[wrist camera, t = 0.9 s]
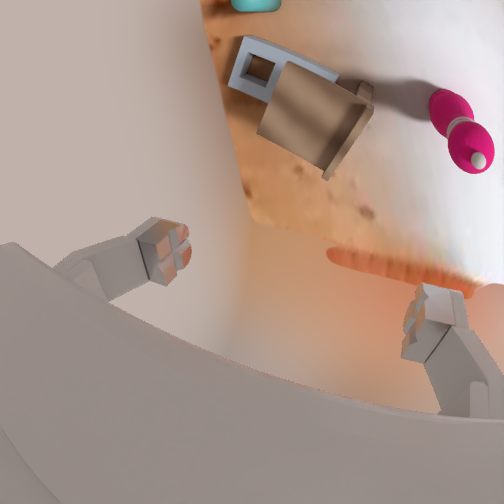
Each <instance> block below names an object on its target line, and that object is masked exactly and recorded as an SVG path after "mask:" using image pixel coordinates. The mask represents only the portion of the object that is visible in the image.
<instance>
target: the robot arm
mask: <svg viewBox="0 0 504 504" xmlns="http://www.w3.org/2000/svg"><path fill="white" fill-rule="evenodd" d="M188 236H189V231H188V227H187V226H186V225H185V224H182V223H178V222H173V221H170V220H166V219H162V218H157V217H151V218H150V219H148V220H147V221H146V222H144V223H143V224H142V225H140V226H139V227H137V228H136V229H135V230H133V231H132V232H131V233H129V234H128V235H127V236H121V237H117V238H114V239H111V240H108V241H105V242H101V243H98V244H95V245H92V246H89V247H86V248H83V249H80V250H77V251H74V252H72V253H71V254H69V255H68V256H67V257H65V258H64V259H63V260H62V261H60V262H59V263H58V264H57V265H56V266H54V267H53V268H51V267H50V266H48V265H47V264H45V263H44V262H42V261H41V260H39V259H38V258H36V257H35V256H34V255H32V254H31V253H29V252H28V251H26V250H25V249H24V248H22V247H21V246H20V245H19V244H17V243H14V242H11V243H7V244H3V245H0V504H504V375H503V374H502V372H501V370H500V369H499V367H498V366H497V364H496V363H495V361H494V359H493V358H492V356H491V355H490V354H489V352H488V351H487V349H486V348H485V346H484V345H483V343H482V342H481V340H480V339H479V338H478V336H477V335H476V334H475V332H474V331H473V330H470V328H469V322H468V317H467V311H466V306H465V301H464V296H463V293H462V292H461V291H456V290H452V289H445V288H441V287H438V286H434V285H430V284H426V283H422V282H421V283H420V284H419V285H418V287H417V289H416V292H415V297H416V298H415V300H414V301H412V302H411V303H410V305H409V307H408V309H407V312H406V315H405V318H404V324H403V331H404V333H405V335H406V336H405V338H404V339H403V341H402V352H401V358H403V359H407V360H411V361H415V362H419V363H423V364H424V367H425V369H426V372H427V374H428V376H429V379H430V381H431V384H432V386H433V389H434V391H435V394H436V397H437V399H438V402H439V405H440V407H441V411H440V412H439V413H438V414H430V413H423V412H417V411H411V410H405V409H399V408H394V407H389V406H384V405H379V404H375V403H370V402H365V401H361V400H357V399H352V398H349V397H345V396H340V395H337V394H333V393H329V392H325V391H322V390H318V389H315V388H311V387H308V386H305V385H301V384H298V383H295V382H292V381H289V380H286V379H282V378H279V377H276V376H273V375H270V374H268V373H265V372H262V371H259V370H256V369H253V368H250V367H248V366H245V365H242V364H240V363H237V362H234V361H232V360H230V359H227V358H224V357H222V356H220V355H217V354H214V353H212V352H210V351H207V350H205V349H202V348H200V347H198V346H196V345H193V344H191V343H189V342H187V341H184V340H182V339H180V338H178V337H175V336H174V335H171V334H169V333H167V332H165V331H163V330H161V329H159V328H157V327H155V326H153V325H151V324H149V323H147V322H145V321H143V320H141V319H139V318H137V317H135V316H133V315H131V314H129V313H127V312H125V311H123V310H122V309H120V308H118V307H116V306H114V305H112V304H111V303H109V301H111V300H113V299H115V298H116V297H119V296H121V295H123V294H125V293H127V292H129V291H131V290H133V289H135V288H136V287H139V286H141V285H143V284H145V283H147V282H149V280H150V281H152V282H155V283H158V284H161V285H164V286H167V285H168V284H169V283H170V282H171V281H172V280H173V279H174V278H175V277H176V276H177V271H178V270H181V269H183V268H185V267H186V265H187V264H188V263H189V261H190V258H191V254H192V249H191V244H190V243H189V242H188V240H187V238H188Z"/></svg>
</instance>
